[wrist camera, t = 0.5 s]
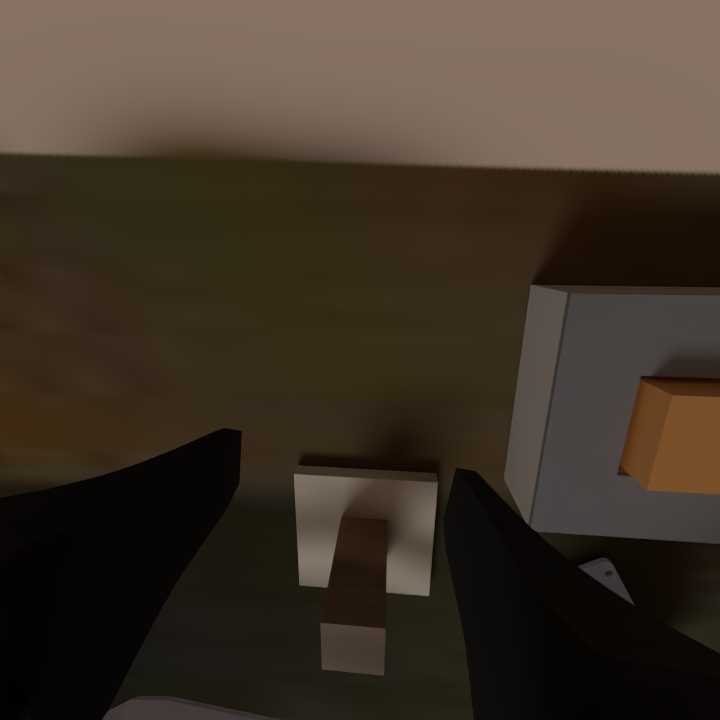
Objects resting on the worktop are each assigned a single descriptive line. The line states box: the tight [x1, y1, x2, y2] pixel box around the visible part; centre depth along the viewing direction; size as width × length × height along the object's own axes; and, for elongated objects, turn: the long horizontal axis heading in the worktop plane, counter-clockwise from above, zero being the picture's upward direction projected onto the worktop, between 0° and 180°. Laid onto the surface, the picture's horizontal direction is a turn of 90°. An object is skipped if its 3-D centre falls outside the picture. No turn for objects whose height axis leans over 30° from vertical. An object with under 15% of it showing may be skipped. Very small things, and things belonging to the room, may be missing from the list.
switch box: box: [504, 285, 720, 544], centre depth 18 cm, size 12×12×4 cm
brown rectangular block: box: [321, 517, 387, 676], centre depth 20 cm, size 3×3×7 cm
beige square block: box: [294, 465, 438, 596], centre depth 24 cm, size 9×9×1 cm
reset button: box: [620, 376, 720, 494], centre depth 16 cm, size 4×4×3 cm
